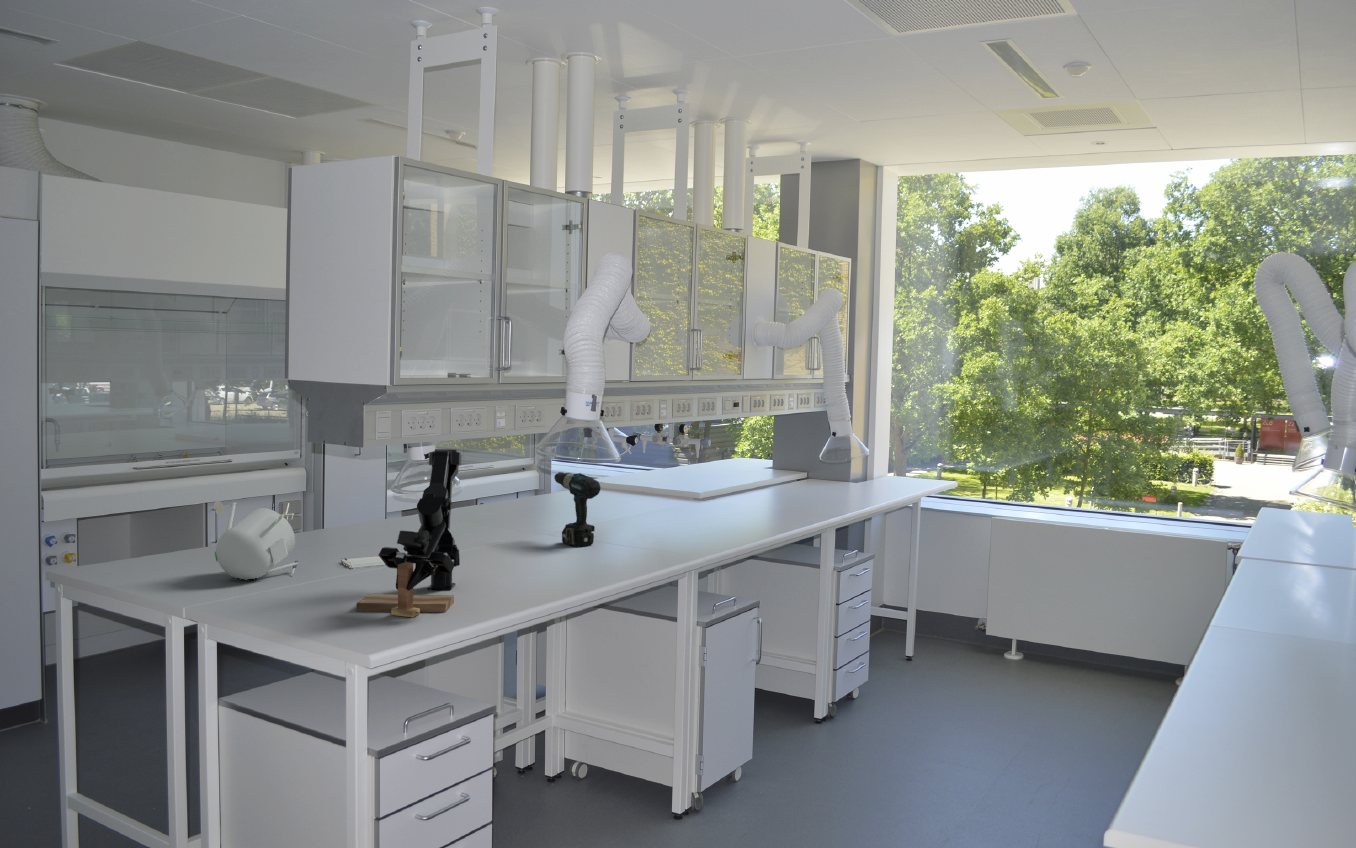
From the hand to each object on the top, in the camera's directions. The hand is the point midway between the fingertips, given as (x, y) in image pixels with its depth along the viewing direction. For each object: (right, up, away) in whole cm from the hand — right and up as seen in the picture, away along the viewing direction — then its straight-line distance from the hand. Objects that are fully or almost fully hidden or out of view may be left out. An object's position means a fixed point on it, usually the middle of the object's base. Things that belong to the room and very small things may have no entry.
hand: (402, 589), depth 232 cm
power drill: (+30, -2, +102) cm, 107 cm away
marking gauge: (0, -7, +2) cm, 7 cm away
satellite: (-53, -4, +40) cm, 67 cm away
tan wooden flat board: (-2, -6, +10) cm, 12 cm away
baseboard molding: (-21, -4, +66) cm, 70 cm away
